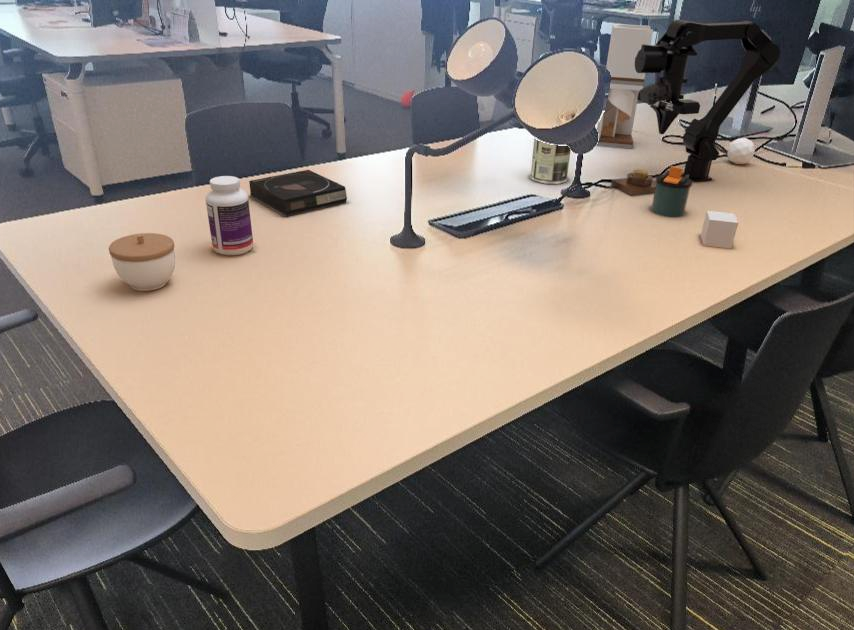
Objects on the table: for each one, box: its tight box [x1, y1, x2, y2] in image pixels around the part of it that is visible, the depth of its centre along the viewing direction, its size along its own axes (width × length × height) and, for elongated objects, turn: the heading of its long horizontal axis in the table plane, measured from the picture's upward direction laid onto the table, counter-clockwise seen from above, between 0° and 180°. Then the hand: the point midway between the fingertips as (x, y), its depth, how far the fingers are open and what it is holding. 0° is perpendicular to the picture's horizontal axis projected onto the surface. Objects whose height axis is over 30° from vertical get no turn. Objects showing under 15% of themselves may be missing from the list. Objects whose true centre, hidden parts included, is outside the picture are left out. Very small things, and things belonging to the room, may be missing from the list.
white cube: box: [700, 210, 739, 249], centre depth 156 cm, size 6×6×6 cm
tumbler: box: [650, 170, 693, 218], centre depth 172 cm, size 9×9×9 cm
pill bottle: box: [205, 175, 254, 256], centre depth 139 cm, size 8×8×14 cm
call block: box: [610, 171, 657, 197], centre depth 188 cm, size 11×9×4 cm
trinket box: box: [108, 232, 176, 292], centre depth 125 cm, size 11×11×9 cm
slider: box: [663, 165, 684, 184], centre depth 168 cm, size 5×3×3 cm
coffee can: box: [529, 137, 571, 185], centre depth 190 cm, size 10×10×14 cm
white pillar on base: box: [596, 23, 654, 150], centre depth 221 cm, size 11×11×35 cm
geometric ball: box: [726, 137, 756, 165], centre depth 213 cm, size 8×8×8 cm
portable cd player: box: [248, 169, 348, 218], centre depth 168 cm, size 16×17×4 cm
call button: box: [632, 168, 649, 179], centre depth 187 cm, size 4×4×2 cm
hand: (661, 133), depth 191 cm, fingers closed
